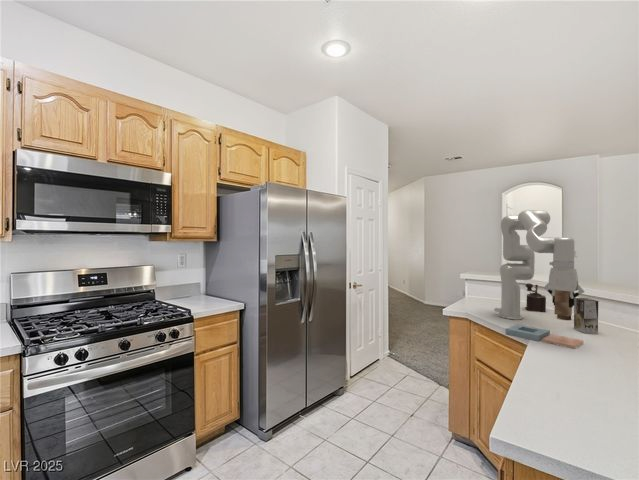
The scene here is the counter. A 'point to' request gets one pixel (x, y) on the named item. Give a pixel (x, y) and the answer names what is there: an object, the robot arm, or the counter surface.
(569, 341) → the terracotta tile
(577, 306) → the coffee box
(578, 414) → the counter surface
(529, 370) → the counter surface
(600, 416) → the counter surface
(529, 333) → the pocket plate
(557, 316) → the wooden chess piece
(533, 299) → the dark brown boxy piece
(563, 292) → the walnut block
